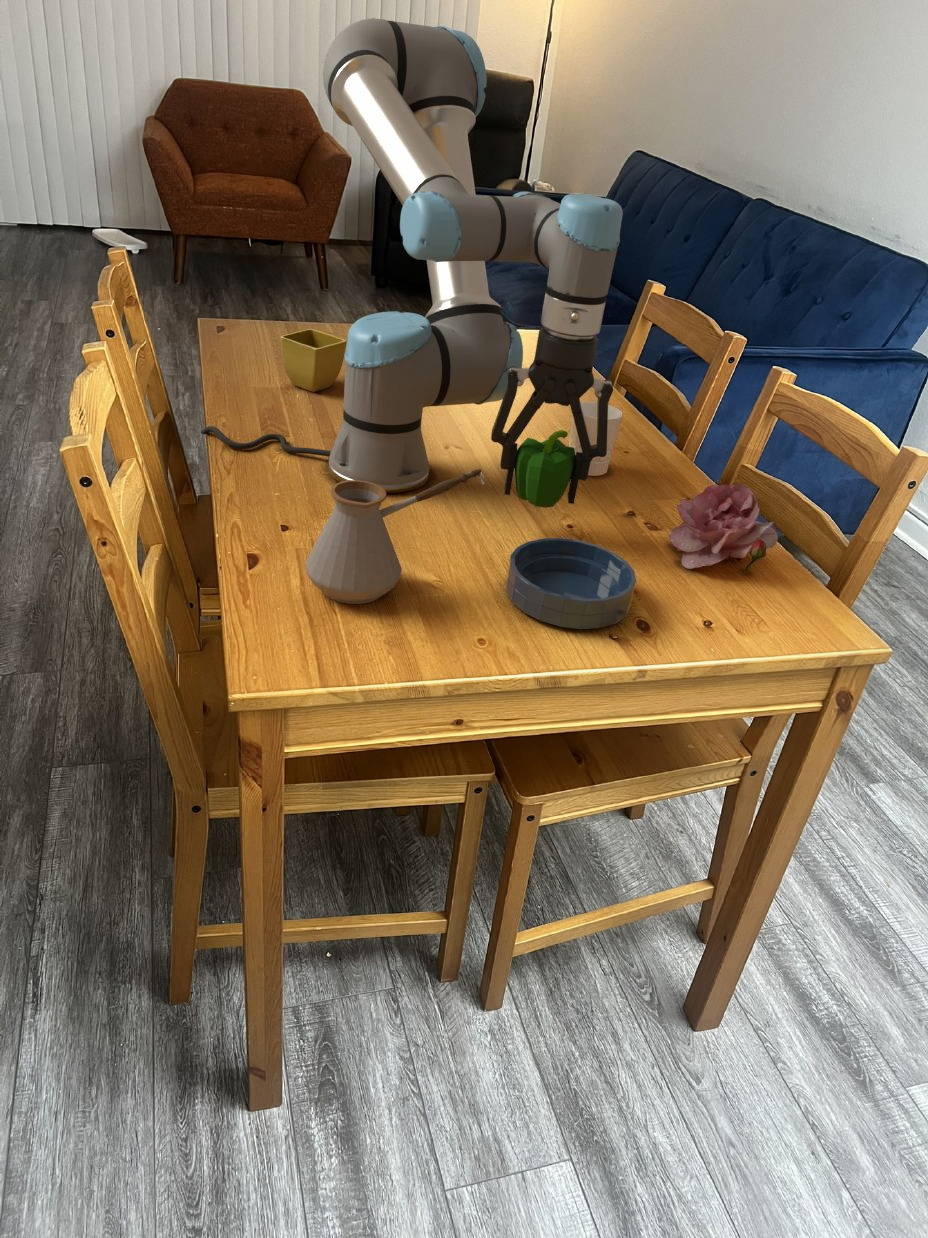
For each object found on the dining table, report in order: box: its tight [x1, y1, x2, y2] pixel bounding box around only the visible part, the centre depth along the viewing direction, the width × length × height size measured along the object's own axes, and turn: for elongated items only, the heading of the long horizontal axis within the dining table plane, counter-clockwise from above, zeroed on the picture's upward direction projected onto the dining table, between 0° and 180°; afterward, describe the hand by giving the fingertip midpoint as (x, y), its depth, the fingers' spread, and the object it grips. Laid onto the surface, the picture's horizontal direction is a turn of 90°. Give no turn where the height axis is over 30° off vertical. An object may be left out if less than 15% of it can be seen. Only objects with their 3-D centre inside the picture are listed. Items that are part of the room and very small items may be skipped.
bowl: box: [505, 537, 637, 630], centre depth 117 cm, size 16×16×4 cm
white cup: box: [568, 401, 624, 477], centre depth 153 cm, size 8×8×10 cm
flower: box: [668, 483, 779, 573], centre depth 130 cm, size 15×15×10 cm
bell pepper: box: [514, 429, 576, 509], centre depth 128 cm, size 8×8×10 cm
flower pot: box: [279, 328, 348, 393], centre depth 171 cm, size 9×9×9 cm
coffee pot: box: [305, 468, 487, 605], centre depth 112 cm, size 21×12×15 cm, turn 110°
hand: (539, 494), depth 130 cm, fingers closed on bell pepper, 8 cm apart
